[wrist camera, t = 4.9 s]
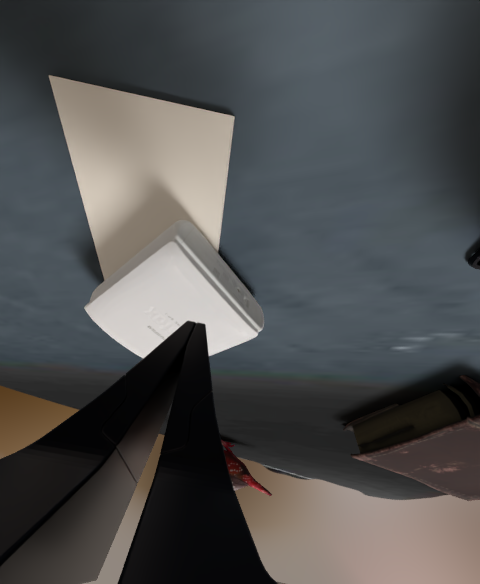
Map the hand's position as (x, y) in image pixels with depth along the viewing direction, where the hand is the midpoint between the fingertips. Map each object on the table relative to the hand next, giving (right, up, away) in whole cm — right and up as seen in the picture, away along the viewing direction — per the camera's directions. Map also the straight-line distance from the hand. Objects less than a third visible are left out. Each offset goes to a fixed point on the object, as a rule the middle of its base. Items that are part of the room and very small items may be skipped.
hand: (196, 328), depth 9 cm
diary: (+33, -18, +21) cm, 43 cm away
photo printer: (+1, +3, +5) cm, 6 cm away
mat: (-5, +6, +7) cm, 10 cm away
